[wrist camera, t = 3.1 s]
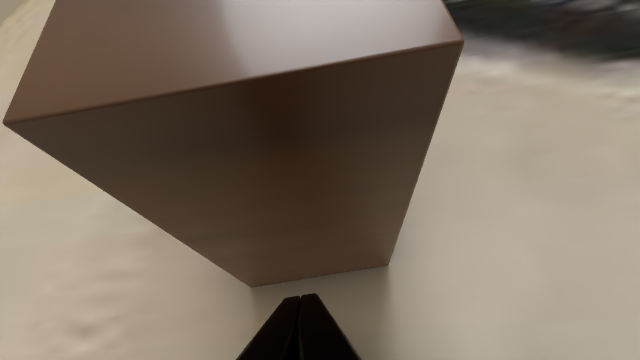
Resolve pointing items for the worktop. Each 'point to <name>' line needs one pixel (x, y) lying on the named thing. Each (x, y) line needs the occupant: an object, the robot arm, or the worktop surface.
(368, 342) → the worktop surface
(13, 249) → the worktop surface
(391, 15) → the walnut block
